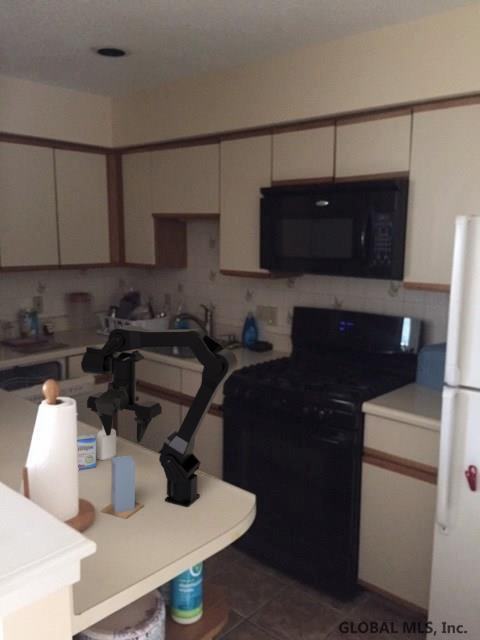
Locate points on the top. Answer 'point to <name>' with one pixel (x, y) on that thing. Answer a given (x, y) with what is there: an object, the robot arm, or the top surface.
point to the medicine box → (86, 451)
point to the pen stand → (125, 514)
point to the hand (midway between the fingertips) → (123, 438)
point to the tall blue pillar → (123, 484)
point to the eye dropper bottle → (106, 445)
